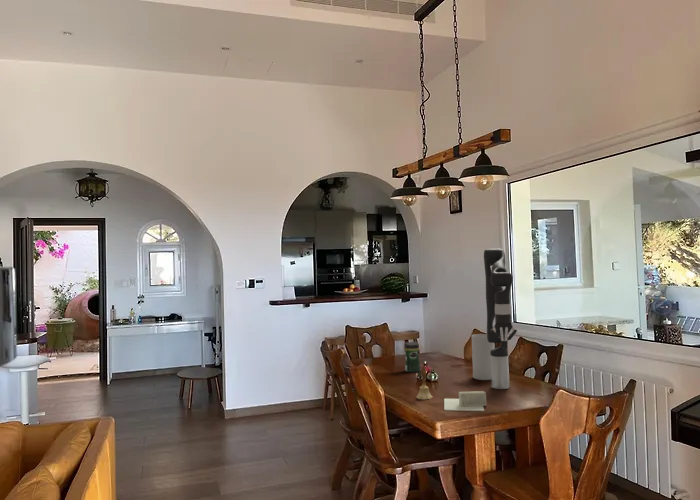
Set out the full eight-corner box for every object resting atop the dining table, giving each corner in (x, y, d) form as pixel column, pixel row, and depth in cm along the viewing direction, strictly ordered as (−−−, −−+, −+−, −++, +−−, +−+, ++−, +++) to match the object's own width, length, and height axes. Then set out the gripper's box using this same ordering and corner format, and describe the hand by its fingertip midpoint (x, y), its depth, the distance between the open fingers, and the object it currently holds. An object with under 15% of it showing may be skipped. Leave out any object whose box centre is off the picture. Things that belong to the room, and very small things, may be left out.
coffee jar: (418, 369, 336) (417, 340, 337) (421, 372, 328) (420, 342, 329) (403, 370, 335) (402, 341, 336) (406, 372, 327) (405, 343, 328)
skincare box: (483, 390, 249) (458, 391, 249) (486, 392, 245) (460, 393, 245) (484, 404, 249) (458, 404, 249) (486, 406, 244) (460, 406, 244)
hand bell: (416, 395, 270) (415, 364, 270) (432, 395, 269) (431, 364, 269) (416, 399, 261) (415, 367, 262) (433, 399, 260) (431, 367, 261)
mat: (444, 399, 260) (444, 398, 260) (481, 399, 257) (481, 399, 257) (444, 410, 241) (444, 409, 241) (484, 411, 237) (484, 410, 237)
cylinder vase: (469, 377, 309) (467, 335, 310) (487, 375, 313) (485, 333, 314) (480, 381, 297) (478, 337, 298) (499, 379, 301) (497, 336, 302)
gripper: (516, 311, 256) (517, 347, 256) (488, 312, 259) (489, 347, 259) (517, 313, 249) (519, 349, 249) (489, 314, 252) (490, 349, 251)
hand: (504, 348), depth 254 cm, fingers closed
